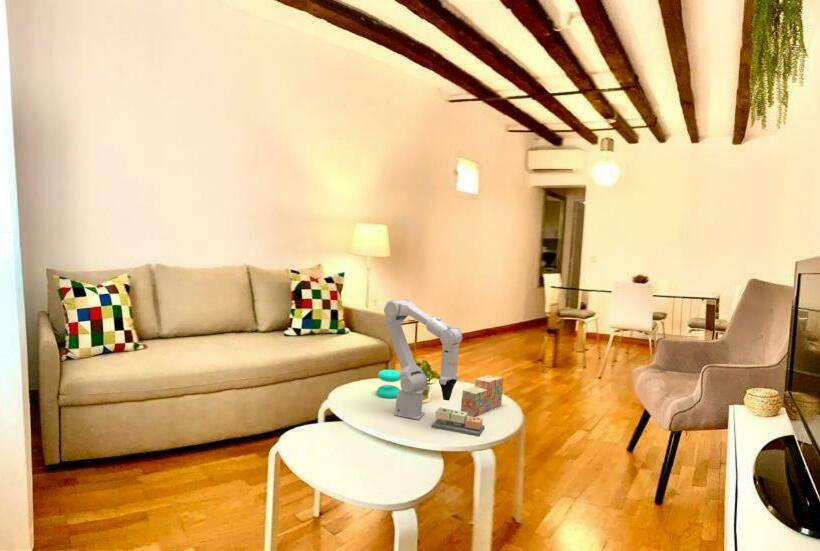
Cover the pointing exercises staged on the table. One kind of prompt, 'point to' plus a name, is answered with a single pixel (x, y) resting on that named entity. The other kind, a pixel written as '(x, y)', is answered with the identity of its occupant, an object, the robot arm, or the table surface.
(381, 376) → the donuts
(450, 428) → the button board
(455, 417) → the tile two
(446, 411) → the tile one
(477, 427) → the tile three
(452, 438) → the table surface
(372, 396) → the table surface
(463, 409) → the stack of blocks
